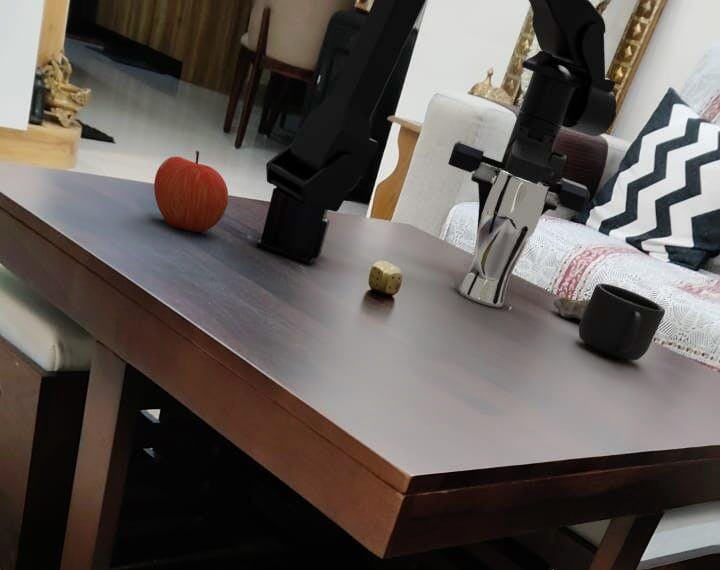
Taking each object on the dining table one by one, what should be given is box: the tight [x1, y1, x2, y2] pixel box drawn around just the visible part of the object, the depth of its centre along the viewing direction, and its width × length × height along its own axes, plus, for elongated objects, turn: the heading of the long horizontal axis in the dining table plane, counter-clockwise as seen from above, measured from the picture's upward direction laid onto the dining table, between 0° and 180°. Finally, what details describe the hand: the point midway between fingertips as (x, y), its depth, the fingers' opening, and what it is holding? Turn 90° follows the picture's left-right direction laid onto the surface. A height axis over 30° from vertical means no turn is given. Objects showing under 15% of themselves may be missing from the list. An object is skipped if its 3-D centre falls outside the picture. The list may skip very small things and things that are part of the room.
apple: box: [153, 150, 229, 233], centre depth 108 cm, size 8×8×8 cm
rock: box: [553, 296, 590, 321], centre depth 135 cm, size 9×6×10 cm
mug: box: [578, 283, 666, 362], centre depth 121 cm, size 12×9×7 cm
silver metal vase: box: [458, 168, 550, 309], centre depth 124 cm, size 7×7×15 cm
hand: (494, 243), depth 134 cm, fingers closed on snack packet, 4 cm apart
